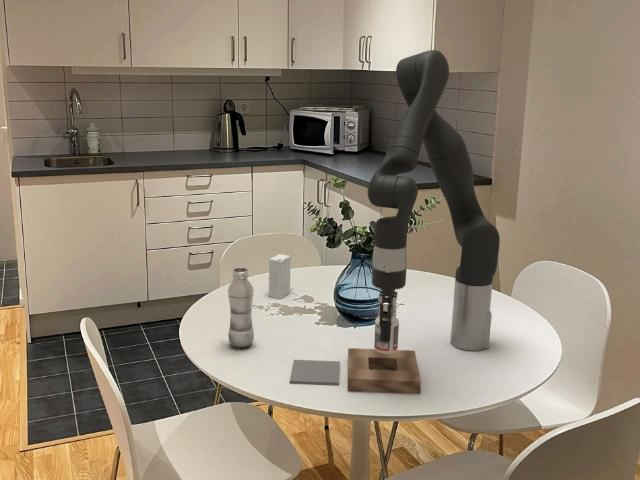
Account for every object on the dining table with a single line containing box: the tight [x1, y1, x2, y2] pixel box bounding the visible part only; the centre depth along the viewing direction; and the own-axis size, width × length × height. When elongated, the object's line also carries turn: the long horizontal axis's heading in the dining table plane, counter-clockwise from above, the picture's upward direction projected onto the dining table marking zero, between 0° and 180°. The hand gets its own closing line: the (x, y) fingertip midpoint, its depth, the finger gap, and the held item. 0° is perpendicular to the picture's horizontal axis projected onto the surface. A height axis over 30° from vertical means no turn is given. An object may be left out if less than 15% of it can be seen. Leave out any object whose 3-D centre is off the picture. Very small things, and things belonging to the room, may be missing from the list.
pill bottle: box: [373, 308, 400, 354], centre depth 161 cm, size 5×5×10 cm
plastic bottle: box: [227, 267, 255, 348], centre depth 176 cm, size 6×7×20 cm
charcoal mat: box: [289, 359, 341, 386], centre depth 165 cm, size 11×11×1 cm
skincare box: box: [268, 253, 292, 299], centre depth 213 cm, size 6×4×12 cm
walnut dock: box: [347, 347, 422, 395], centre depth 164 cm, size 16×16×3 cm
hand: (386, 335), depth 161 cm, fingers closed on pill bottle, 5 cm apart
